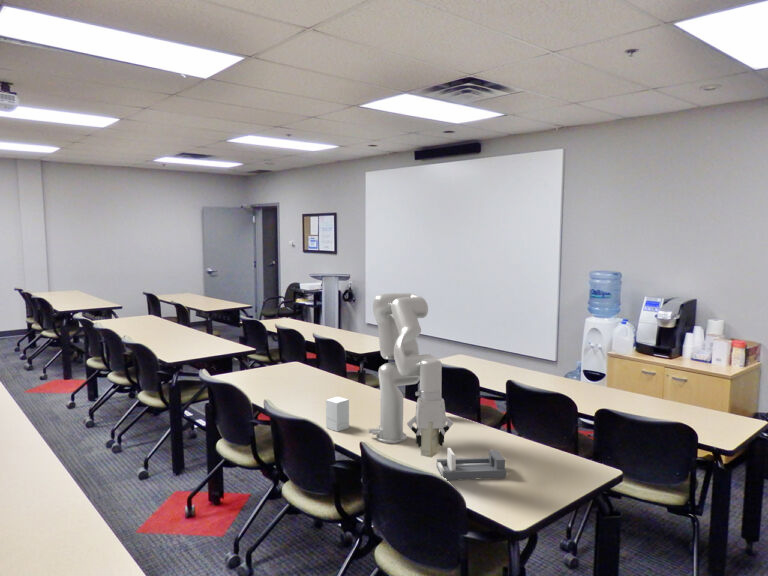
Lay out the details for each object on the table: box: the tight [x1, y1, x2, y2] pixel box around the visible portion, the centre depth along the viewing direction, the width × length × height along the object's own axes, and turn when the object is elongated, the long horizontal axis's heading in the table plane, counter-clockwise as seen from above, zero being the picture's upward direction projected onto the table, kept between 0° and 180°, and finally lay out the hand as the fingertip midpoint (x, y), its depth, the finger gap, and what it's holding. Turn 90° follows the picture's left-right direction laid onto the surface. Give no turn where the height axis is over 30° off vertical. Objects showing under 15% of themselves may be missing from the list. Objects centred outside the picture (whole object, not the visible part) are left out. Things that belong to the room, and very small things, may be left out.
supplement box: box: [325, 396, 350, 432], centre depth 224 cm, size 7×7×13 cm
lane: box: [436, 449, 507, 481], centre depth 182 cm, size 22×11×6 cm, turn 96°
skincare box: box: [420, 422, 440, 459], centre depth 179 cm, size 6×4×12 cm
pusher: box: [446, 447, 492, 471], centre depth 182 cm, size 15×8×6 cm, turn 96°
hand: (429, 444), depth 179 cm, fingers closed on skincare box, 7 cm apart
